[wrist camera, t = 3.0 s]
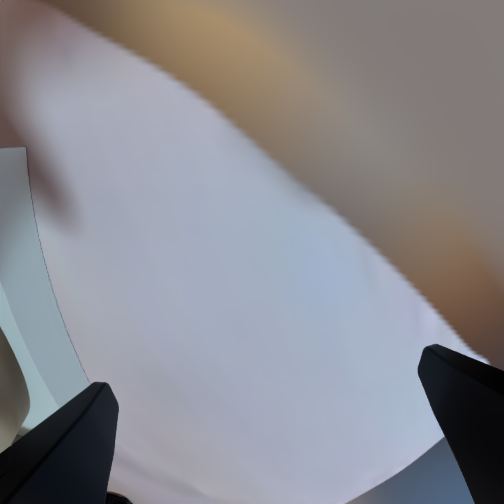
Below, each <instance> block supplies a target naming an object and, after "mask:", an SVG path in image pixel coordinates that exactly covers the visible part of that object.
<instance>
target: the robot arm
mask: <svg viewBox="0 0 504 504" xmlns="http://www.w3.org/2000/svg"><path fill="white" fill-rule="evenodd" d="M418 375H419V378H420V380H421V383H422V385H423V388H424V390H425V393H426V395H427V398H428V401H429V403H430V406H431V408H432V411H433V413H434V415H435V417H436V419H437V421H438V423H439V425H440V427H441V429H442V431H443V433H444V435H445V438H446V440H447V442H448V444H449V446H450V448H451V450H452V452H453V454H454V456H455V459H456V461H457V463H458V465H459V468H460V470H461V472H462V474H463V476H464V479H465V481H466V483H467V486H468V488H469V491H470V493H471V496H472V498H473V501H474V503H475V504H504V371H502V370H500V369H498V368H495V367H493V366H490V365H488V364H485V363H483V362H480V361H478V360H475V359H473V358H470V357H468V356H466V355H463V354H461V353H458V352H456V351H453V350H451V349H448V348H446V347H443V346H441V345H439V344H433V345H429V346H426V347H425V348H424V349H423V352H422V355H421V359H420V362H419V365H418ZM118 412H119V406H118V402H117V400H116V398H115V396H114V394H113V392H112V389H111V387H110V386H109V384H108V383H106V382H93V383H92V384H91V385H89V386H88V387H87V388H85V389H84V390H83V391H82V392H80V393H79V394H78V395H76V396H75V397H74V398H72V399H71V400H70V401H68V402H67V403H66V404H65V405H63V406H62V407H61V408H59V409H58V410H57V411H55V412H54V413H53V414H51V415H50V416H49V417H47V418H46V419H45V420H44V421H42V422H41V423H40V424H38V425H37V426H36V427H34V428H33V429H32V430H30V431H29V432H28V433H26V434H25V435H24V436H22V437H21V438H20V439H18V440H17V441H16V442H14V443H13V444H12V446H9V447H8V448H6V449H5V450H4V451H3V452H1V453H0V504H131V503H130V502H129V501H128V500H126V499H124V498H119V497H114V496H109V495H106V492H107V487H108V481H109V476H110V471H111V466H112V461H113V456H114V448H115V439H116V429H117V420H118Z"/></svg>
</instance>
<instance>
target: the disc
mask: <svg viewBox="0 0 504 504" xmlns="http://www.w3.org/2000/svg"><path fill="white" fill-rule="evenodd" d="M29 410H30V397H29V391H28V388H27V384H26V381H25V378H24V375H23V373H22V370H21V367H20V365H19V363H18V361H17V358H16V356H15V354H14V352H13V350H12V348H11V346H10V344H9V342H8V340H7V338H6V336H5V334H4V332H3V330H2V329H1V327H0V453H1V452H3V451H4V450H5V449H6V448H8V447H9V446H11V444H12V442H13V440H14V438H15V437H16V435H17V433H18V431H19V429H20V428H21V426H22V424H23V422H24V420H25V419H26V417H27V415H28V414H29Z"/></svg>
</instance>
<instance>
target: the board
mask: <svg viewBox="0 0 504 504" xmlns="http://www.w3.org/2000/svg"><path fill="white" fill-rule="evenodd" d="M0 327H1V329H2V330H3V332H4V334H5V336H6V338H7V340H8V342H9V344H10V346H11V348H12V350H13V352H14V354H15V356H16V358H17V361H18V363H19V365H20V367H21V370H22V373H23V375H24V378H25V381H26V384H27V388H28V391H29V397H30V410H29V414H28V415H27V417H26V419H25V420H24V422H23V424H22V426H21V428H20V429H19V431H18V433H17V435H16V437H15V438H14V440H13V442H12V444H13V443H14V442H16V441H17V440H18V439H20V438H21V437H22V436H24V435H25V434H26V433H28V432H29V431H30V430H32V429H33V428H34V427H36V426H37V425H38V424H40V423H41V422H42V421H44V420H45V419H46V418H47V417H49V416H50V415H51V414H53V413H54V412H55V411H57V410H58V409H59V408H61V407H62V406H63V405H65V404H66V403H67V402H68V401H70V400H71V399H72V398H74V397H75V396H76V395H78V394H79V393H80V392H82V391H83V390H84V389H85V388H87V387H88V386H89V385H90V383H89V381H88V379H87V377H86V375H85V373H84V370H83V368H82V366H81V364H80V362H79V359H78V357H77V355H76V353H75V350H74V348H73V345H72V343H71V341H70V338H69V336H68V333H67V330H66V328H65V325H64V322H63V320H62V317H61V314H60V311H59V308H58V305H57V302H56V299H55V296H54V293H53V290H52V287H51V283H50V280H49V277H48V273H47V270H46V266H45V262H44V258H43V254H42V250H41V246H40V241H39V237H38V232H37V227H36V222H35V217H34V211H33V205H32V199H31V192H30V185H29V177H28V167H27V156H26V147H15V148H0ZM12 444H11V446H12Z"/></svg>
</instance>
